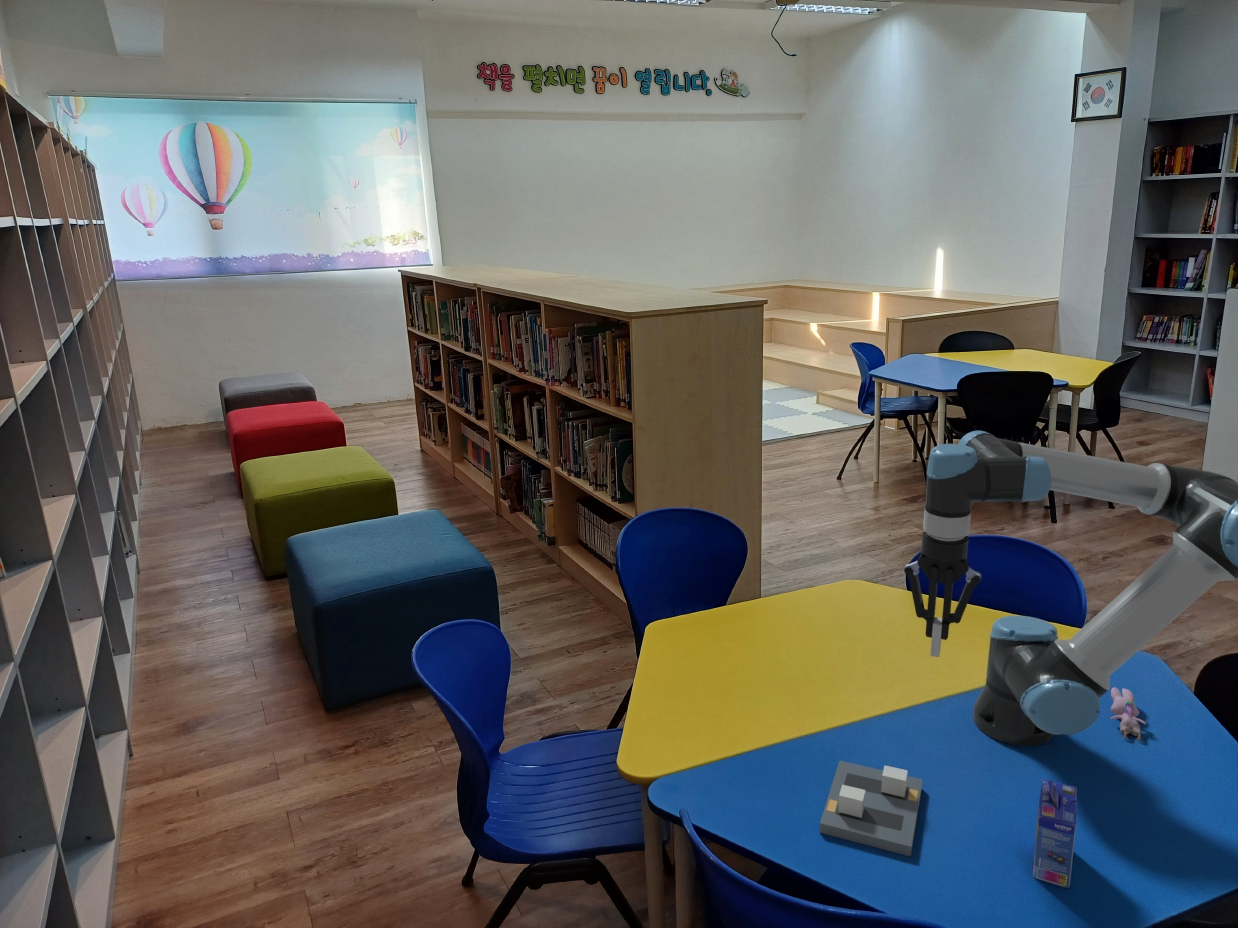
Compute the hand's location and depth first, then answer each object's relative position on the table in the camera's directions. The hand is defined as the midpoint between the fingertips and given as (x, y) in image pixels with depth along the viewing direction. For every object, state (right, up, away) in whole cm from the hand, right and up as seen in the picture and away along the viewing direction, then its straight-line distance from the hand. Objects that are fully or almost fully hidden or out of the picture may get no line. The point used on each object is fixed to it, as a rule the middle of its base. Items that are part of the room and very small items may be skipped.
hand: (935, 652), depth 156 cm
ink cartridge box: (+13, -31, -16) cm, 37 cm away
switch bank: (-12, -27, -3) cm, 30 cm away
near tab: (-17, -26, -6) cm, 32 cm away
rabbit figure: (+46, -18, +19) cm, 52 cm away
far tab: (-8, -24, -2) cm, 26 cm away
